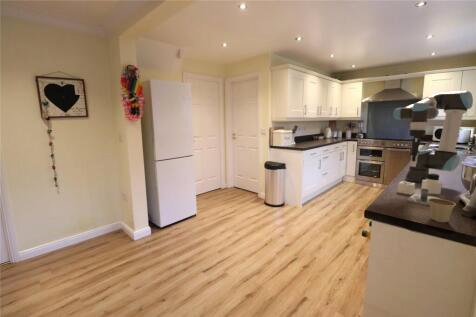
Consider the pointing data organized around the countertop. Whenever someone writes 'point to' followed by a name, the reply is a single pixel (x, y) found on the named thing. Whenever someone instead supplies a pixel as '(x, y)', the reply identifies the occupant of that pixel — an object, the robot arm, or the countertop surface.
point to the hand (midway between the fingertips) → (413, 164)
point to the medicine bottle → (432, 184)
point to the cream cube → (406, 187)
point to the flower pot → (440, 209)
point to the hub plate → (417, 199)
